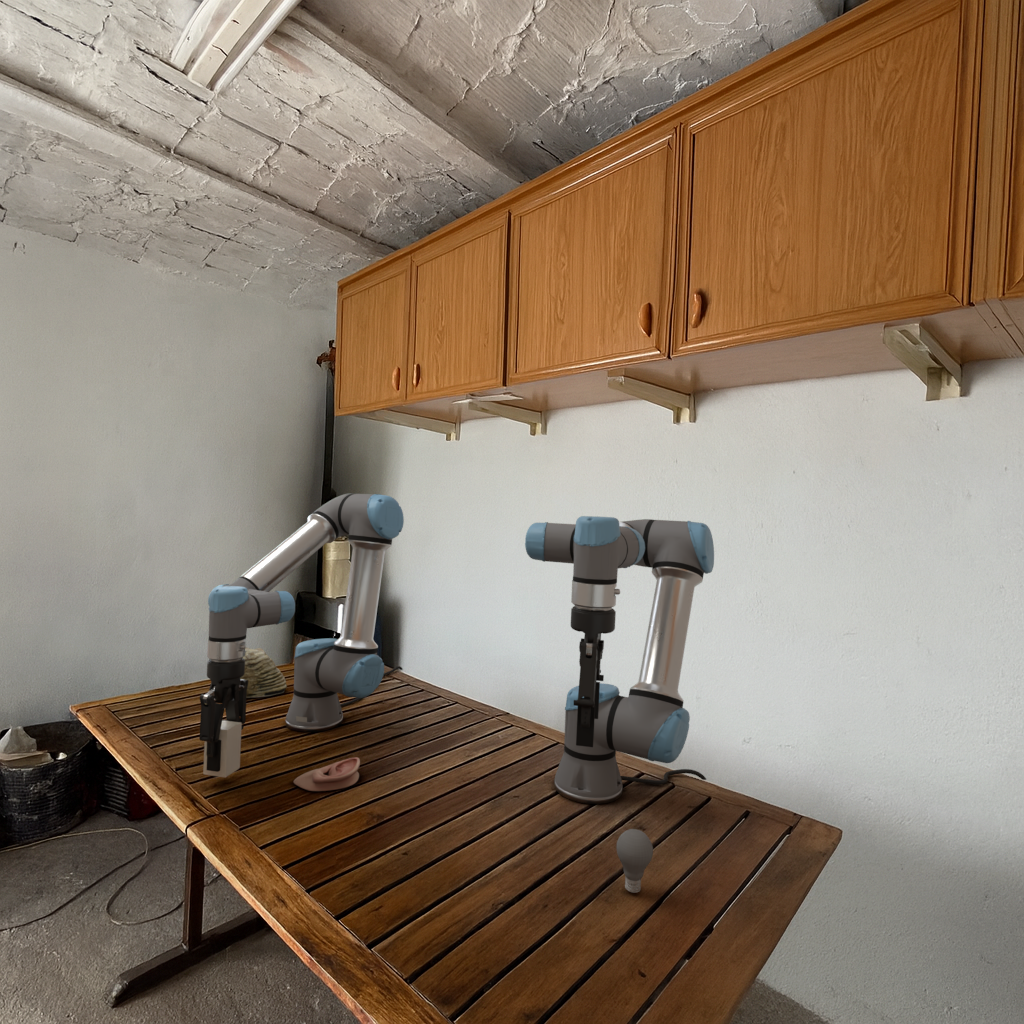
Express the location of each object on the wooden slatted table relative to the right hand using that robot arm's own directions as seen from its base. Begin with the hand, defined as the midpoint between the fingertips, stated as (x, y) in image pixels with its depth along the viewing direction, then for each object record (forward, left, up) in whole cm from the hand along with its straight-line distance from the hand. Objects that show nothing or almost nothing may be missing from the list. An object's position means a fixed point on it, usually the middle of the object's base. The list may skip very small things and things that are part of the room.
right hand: (587, 731), depth 108 cm
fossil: (+48, -119, -26) cm, 131 cm away
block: (+57, -57, -23) cm, 84 cm away
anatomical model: (+35, -51, -26) cm, 67 cm away
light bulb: (-6, +6, -26) cm, 27 cm away
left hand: (+57, -57, -21) cm, 83 cm away
